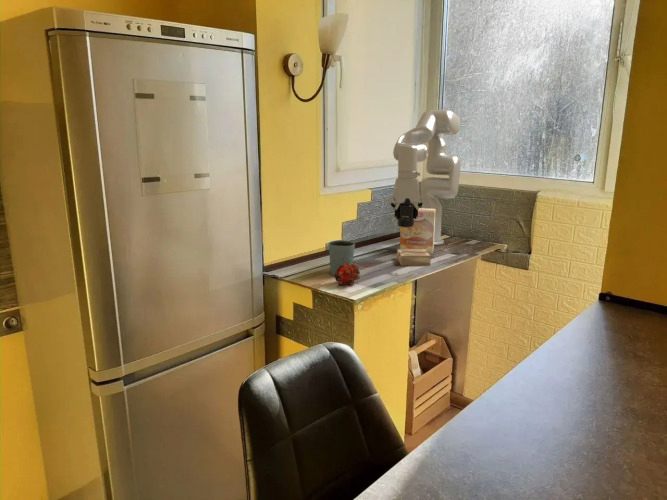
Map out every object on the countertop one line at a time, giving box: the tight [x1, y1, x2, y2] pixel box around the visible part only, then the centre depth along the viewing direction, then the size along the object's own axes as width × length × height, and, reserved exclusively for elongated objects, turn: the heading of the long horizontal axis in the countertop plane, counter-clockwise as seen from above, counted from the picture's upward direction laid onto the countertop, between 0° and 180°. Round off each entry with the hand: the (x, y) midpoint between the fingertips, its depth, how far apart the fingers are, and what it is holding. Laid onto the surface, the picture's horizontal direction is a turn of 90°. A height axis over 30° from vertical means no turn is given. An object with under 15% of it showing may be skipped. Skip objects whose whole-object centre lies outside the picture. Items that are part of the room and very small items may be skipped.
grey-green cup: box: [328, 239, 356, 276], centre depth 203 cm, size 10×10×12 cm
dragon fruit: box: [333, 262, 361, 286], centre depth 189 cm, size 8×8×12 cm
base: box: [396, 248, 432, 266], centre depth 220 cm, size 12×12×4 cm
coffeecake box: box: [399, 207, 436, 255], centre depth 236 cm, size 15×7×20 cm, turn 76°
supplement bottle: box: [397, 198, 415, 228], centre depth 217 cm, size 7×7×12 cm
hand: (406, 218), depth 217 cm, fingers closed on supplement bottle, 6 cm apart
